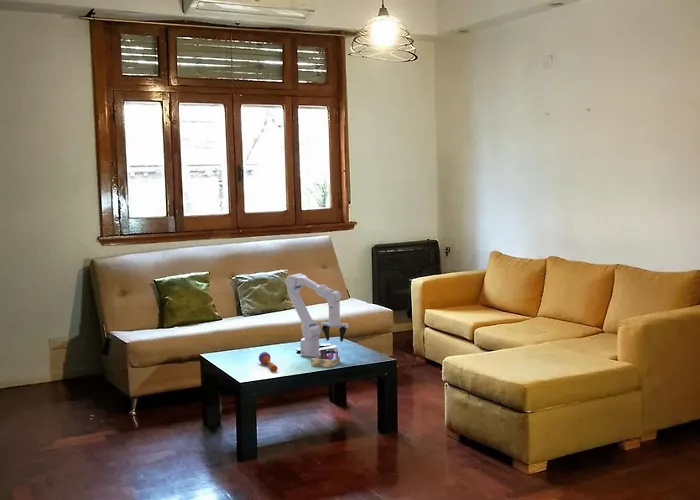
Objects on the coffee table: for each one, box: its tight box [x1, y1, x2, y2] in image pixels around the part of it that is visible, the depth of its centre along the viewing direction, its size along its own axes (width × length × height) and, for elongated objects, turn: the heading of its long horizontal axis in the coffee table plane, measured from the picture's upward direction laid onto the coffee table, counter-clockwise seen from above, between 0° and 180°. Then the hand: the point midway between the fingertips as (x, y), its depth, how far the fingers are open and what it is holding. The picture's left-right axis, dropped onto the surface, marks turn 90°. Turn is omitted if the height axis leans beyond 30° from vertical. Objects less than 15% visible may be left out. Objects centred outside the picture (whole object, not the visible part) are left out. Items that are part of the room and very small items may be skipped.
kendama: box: [258, 351, 278, 372], centre depth 382 cm, size 6×6×20 cm
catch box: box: [310, 355, 341, 368], centre depth 385 cm, size 11×12×4 cm
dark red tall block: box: [319, 348, 339, 360], centre depth 390 cm, size 7×5×9 cm
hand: (334, 340), depth 394 cm, fingers open, 7 cm apart
